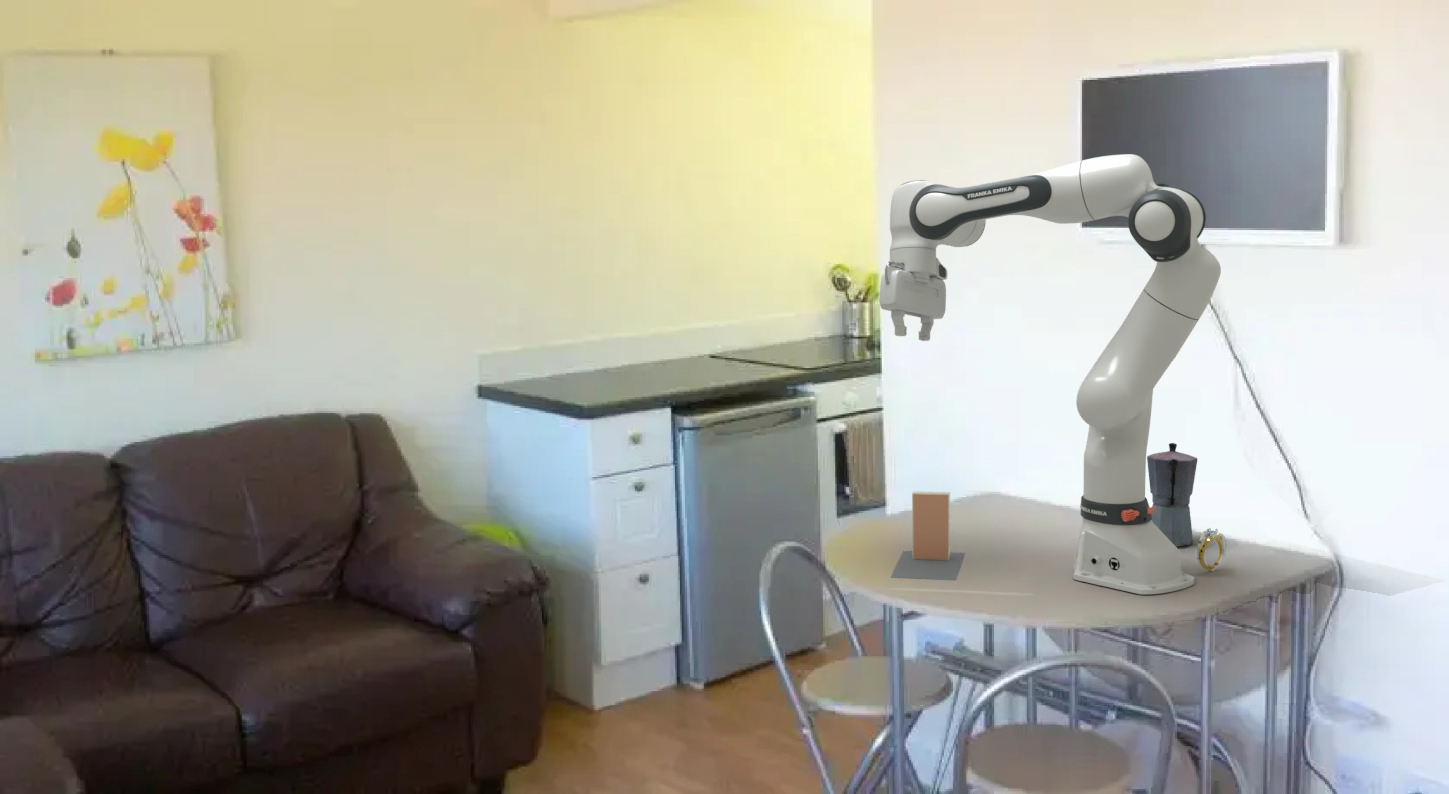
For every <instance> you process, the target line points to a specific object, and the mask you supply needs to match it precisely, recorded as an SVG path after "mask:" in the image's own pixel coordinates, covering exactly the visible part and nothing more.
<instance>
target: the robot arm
mask: <svg viewBox="0 0 1449 794" xmlns="http://www.w3.org/2000/svg"><path fill="white" fill-rule="evenodd" d="M890 203H891V204H890V213H889V231H890V235H891V244H890V247H889V261H888V262H887V263H886V265H885V267H884V271H883V273H882V274H881V278H880V285H879V287H880V288H879V302H878V303H879V306H880V309H882V310H883V311H889V312H890V314H891V315H890V317H891V321H892V323H893V324H892V325H893V326H894V335H895V336H897V337H906V336H907V328H908V327H907V326H906V325H905V319H904V317H905V315H907V316H910V317H911V316H912V317H917V318H920V324H921V327H920V331H918V340H919V341H923V342H928V341H930V340H931V332H932V328H933V326H934V320H941V319H943V317H944V315H945V314H946V306H947V305H946V304H947V286H946V283H945V281H946V280H947V279H948V270H947V267H945V266H944V265H943V264H942V263H941V261H940V260H939V258H938V257H937V248H938V246H941V245H943V246H950V247H954V248H964V247H969V246H971V245H973V244H975V243H977V241H978V240H979V239H980V238H981V237H982V236H983V233H984V231H985V227H986V223H987V221H986V220H990V219H995V218H1001V217H1006V216H1027V217H1031V218H1036V219H1041V220H1044V221H1046V222H1051V223H1055V224H1063V225H1064V224H1082V223H1087V222H1092V221H1098V220H1101V219H1105V218H1110V217H1117V216H1119V217H1120V216H1121V217H1126V218H1127V225H1128V230H1129V233H1130V235H1131V237H1132V238H1133V240H1134V241H1135V243H1137V244H1138V245H1139V246H1140V247H1141V248H1142V249H1143V250H1144V252H1146V254H1147V255H1148V256H1149V257H1150V258H1151V259H1152V260H1153V261H1154V262H1156V265H1155V267H1154V270H1153V272H1152V274H1151V277H1149V280H1148V281H1147V283H1146V284H1145V286H1144V288H1143V289H1142V290H1141V292H1140V294H1139V296H1138V298H1137V299H1136V301H1135V302H1134V304H1133V306H1132V307H1131V309H1130V310H1129V312H1128V314H1127V316H1126V317H1125V319H1124V321H1123V322H1122V324H1121V325H1120V326H1119V328H1118V330H1117V331H1116V332H1115V333H1114V335H1113V336H1112V338H1111V339H1110V341H1109V342H1108V343H1107V345H1106V346H1105V348H1104V349H1103V350H1102V352H1101V354H1100V356H1099V357H1098V358H1097V359H1096V361H1095V363H1094V364H1093V365H1092V367H1091V369H1090V370H1089V372H1088V373H1087V375H1086V376H1085V378H1083V379H1084V380H1083V381H1081V384H1080V385H1079V389H1078V391H1077V395H1076V409H1077V412H1078V414H1079V416H1080V418H1081V419H1082V420H1083V421H1084V422H1085V423H1086V424H1087V425H1089V426H1088V432H1087V440H1086V446H1085V449H1084V453H1083V454H1084V455H1083V495H1082V496H1081V497H1080V505H1079V508H1080V516H1081V517H1082V521H1081V523H1082V524H1081V530H1080V534H1079V542H1078V550H1077V555H1076V559H1075V563H1074V566H1073V577H1072V579H1073V580H1075V581H1079V582H1082V583H1083V582H1085V583H1089V584H1093V585H1097V586H1101V587H1102V586H1103V587H1107V588H1111V589H1115V590H1119V591H1123V592H1128V593H1133V594H1137V595H1158V594H1165V593H1172V592H1175V591H1180V590H1184V589H1186V588H1189V587H1192V586H1193V585H1194V584H1195V582H1196V581H1195V577H1194V576H1192V575H1191V574H1188V573H1185V572H1184V571H1182V561H1181V555H1180V550H1179V549H1178V546H1175V545H1174V544H1173V543H1172V542H1171V541H1170V540H1169V539H1168V538H1167V537H1166V536H1165V535H1164V534H1163V532H1162V531H1161V530H1160V529H1159V528H1158V527H1157V526H1156V525H1155V524H1154V522H1153V521H1152V514H1151V513H1156V512H1157V511H1152V510H1154V509H1155V508H1157V507H1156V506H1155V507H1152V506H1151V507H1150V505H1149V501H1148V499H1147V497H1146V472H1147V471H1146V464H1147V463H1146V462H1147V451H1148V449H1147V448H1148V443H1149V437H1150V436H1149V435H1150V427H1151V420H1152V419H1151V418H1152V417H1151V416H1152V407H1153V405H1152V404H1153V395H1154V388H1156V385H1157V384H1158V383H1159V381H1160V379H1161V378H1162V377H1163V376H1164V374H1165V372H1166V371H1167V369H1168V368H1169V367H1170V365H1171V364H1172V363H1173V361H1174V360H1175V358H1176V357H1177V355H1178V354H1179V352H1180V351H1181V349H1182V348H1183V346H1184V344H1185V343H1186V341H1187V340H1188V338H1189V336H1190V335H1191V334H1192V331H1193V330H1194V329H1195V327H1196V325H1197V323H1198V322H1199V320H1200V319H1201V317H1202V315H1203V314H1204V312H1205V310H1206V309H1207V306H1208V305H1209V303H1210V301H1211V299H1212V297H1213V294H1214V292H1215V290H1216V288H1217V285H1218V282H1219V279H1220V277H1221V271H1222V269H1221V268H1222V267H1221V265H1220V262H1219V260H1218V259H1217V257H1216V256H1215V255H1214V254H1213V253H1212V252H1211V251H1210V250H1208V249H1206V248H1204V247H1203V246H1202V245H1201V243H1200V242H1199V238H1200V236H1201V235H1202V233H1203V232H1204V230H1205V227H1206V220H1207V217H1206V210H1205V207H1204V205H1203V203H1202V202H1201V200H1200V199H1199V198H1198V197H1197V196H1196V195H1195V194H1193V193H1191V192H1189V191H1188V190H1185V189H1182V188H1179V187H1174V186H1173V185H1168V184H1165V183H1162V182H1161V183H1155V181H1154V177H1153V174H1152V170H1151V169H1150V165H1148V163H1147V162H1146V160H1144V158H1142V157H1141V156H1139V155H1137V154H1132V153H1130V154H1129V153H1127V154H1124V153H1123V154H1111V155H1103V156H1097V157H1092V158H1087V159H1082V160H1078V161H1073V162H1071V163H1067V164H1063V165H1060V166H1056V167H1053V168H1050V169H1046V170H1043V171H1040V172H1034V173H1032V174H1031V173H1030V174H1029V175H1025V176H1020V177H1015V178H1009V179H1003V180H999V181H993V182H987V183H981V184H978V185H977V184H976V185H973V186H971V185H970V186H967V187H954V186H948V185H943V184H937V183H936V184H933V183H932V182H931V181H929V180H924V179H921V180H920V179H919V180H910V181H907V182H904V183H901V184H900V185H899V186H898V187H896V188H895V190H893V194H892V197H891V202H890Z"/></svg>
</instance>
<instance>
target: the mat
mask: <svg viewBox="0 0 1449 794" xmlns="http://www.w3.org/2000/svg"><path fill="white" fill-rule="evenodd" d="M965 554H966V553H965V552H951V551H950V559H949V560H928V559H913V550H903V551H902V553H901V554H900V557H899V559H898V561H897V563H896V565H895V567H894V569H893V572H892V573H891V576H890V578H892V579H911V580H912V579H913V580H914V579H916V580H934V581H935V580H937V581H938V580H939V581H943V580H944V581H957V579H958V575H959V572H960V569H961V566H962V564H963V560H964V558H965V557H964V556H965Z"/></svg>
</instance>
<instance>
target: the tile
mask: <svg viewBox="0 0 1449 794" xmlns="http://www.w3.org/2000/svg"><path fill="white" fill-rule="evenodd" d="M911 495H912V496H911V503H912V504H911V505H912V507H911V508H912V510H911V512H912V513H911V514H912V515H911V516H912V519H911V521H912V523H911V524H912V525H911V526H912V529H911V530H912V551H913V559H928V560H949V559H950V552H951V526H950V525H951V493H950V491H919V490H918V491H917V490H914V491H912V493H911Z"/></svg>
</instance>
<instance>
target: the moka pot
mask: <svg viewBox="0 0 1449 794" xmlns="http://www.w3.org/2000/svg"><path fill="white" fill-rule="evenodd" d="M1177 446H1178V445H1177V443H1174V442H1170V443H1168V448H1169V450H1167V451H1161V452H1156V453H1152V454H1150V455H1146V462H1147V472H1148V481H1149V488H1150V489H1149V490H1150V493H1151V495H1152V503H1153V504H1152V505H1151V507H1155V506H1156V507H1157V508H1155V509H1154V510H1152V511H1157V512H1156V513H1151V514H1152V521H1153V522H1154V524H1155V525H1156V526H1157V527H1158V528H1159V529H1160V530H1161V531H1162V532H1163V534H1164V535H1165V536H1166V537H1167V538H1168V539H1169V540H1170V541H1171V542H1172V543H1173V544H1174V545H1175V546H1176V547H1183V546H1184V547H1186V546H1190V545H1193V544H1194V539H1193V537H1194V536H1193V527H1192V517H1191V510H1190V501H1191V496H1192V495H1193V491H1194V485H1195V484H1194V483H1195V477H1196V471H1197V464H1198V458H1197V457H1196V456H1193V455H1189V454H1186V453H1183V452H1179V451H1176V450H1177Z"/></svg>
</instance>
